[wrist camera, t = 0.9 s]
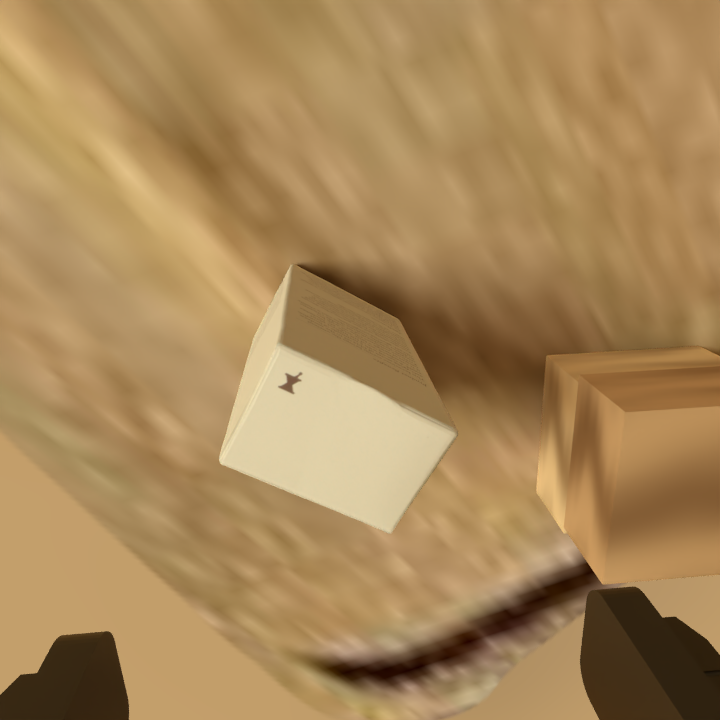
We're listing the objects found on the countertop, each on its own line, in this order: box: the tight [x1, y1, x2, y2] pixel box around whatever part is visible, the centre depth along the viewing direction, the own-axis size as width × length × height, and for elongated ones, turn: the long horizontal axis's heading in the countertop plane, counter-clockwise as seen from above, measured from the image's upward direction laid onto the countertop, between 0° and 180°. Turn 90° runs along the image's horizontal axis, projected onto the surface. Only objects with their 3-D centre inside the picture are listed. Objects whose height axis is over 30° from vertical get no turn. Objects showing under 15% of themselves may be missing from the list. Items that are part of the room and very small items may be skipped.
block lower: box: [536, 346, 720, 534], centre depth 29 cm, size 8×8×4 cm
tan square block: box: [564, 366, 720, 584], centre depth 25 cm, size 8×8×4 cm
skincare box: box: [219, 264, 458, 533], centre depth 22 cm, size 6×4×12 cm
